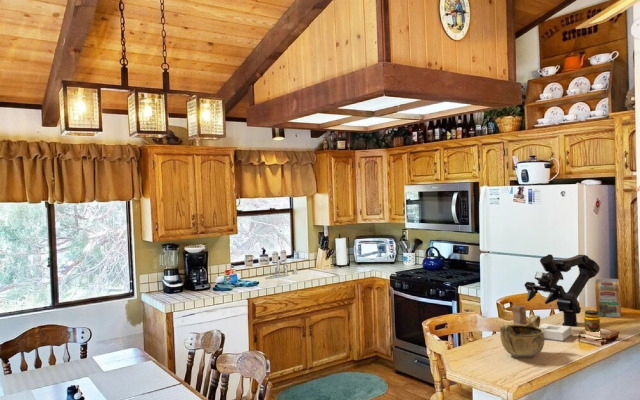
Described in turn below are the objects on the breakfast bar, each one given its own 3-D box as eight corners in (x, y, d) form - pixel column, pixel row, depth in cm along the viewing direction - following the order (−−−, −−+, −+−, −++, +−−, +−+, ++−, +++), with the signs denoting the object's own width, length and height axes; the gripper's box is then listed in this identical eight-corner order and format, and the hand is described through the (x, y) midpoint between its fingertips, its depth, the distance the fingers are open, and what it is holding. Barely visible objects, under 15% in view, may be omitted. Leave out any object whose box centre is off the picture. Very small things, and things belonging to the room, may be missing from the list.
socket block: (544, 332, 240) (543, 323, 240) (571, 335, 232) (570, 326, 232) (535, 338, 231) (534, 329, 231) (563, 341, 223) (562, 332, 223)
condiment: (593, 341, 222) (591, 313, 222) (577, 336, 230) (576, 310, 230) (606, 338, 224) (604, 311, 224) (590, 334, 232) (589, 308, 232)
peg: (520, 334, 238) (518, 305, 238) (527, 336, 234) (525, 306, 234) (514, 336, 236) (512, 306, 236) (521, 338, 233) (519, 307, 233)
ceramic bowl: (522, 346, 221) (520, 311, 221) (558, 354, 207) (556, 317, 207) (488, 357, 209) (486, 320, 209) (524, 367, 195) (522, 328, 195)
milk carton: (621, 313, 265) (619, 277, 265) (620, 318, 256) (618, 280, 256) (598, 312, 271) (596, 276, 271) (596, 317, 262) (594, 280, 262)
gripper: (527, 265, 249) (512, 287, 242) (563, 268, 233) (547, 291, 226) (536, 282, 252) (521, 304, 245) (572, 286, 237) (557, 309, 230)
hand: (536, 302), depth 237 cm, fingers open, 9 cm apart
